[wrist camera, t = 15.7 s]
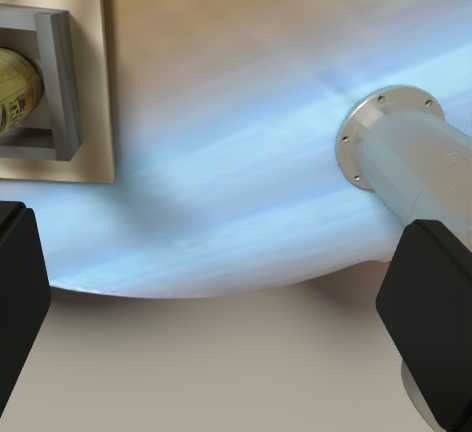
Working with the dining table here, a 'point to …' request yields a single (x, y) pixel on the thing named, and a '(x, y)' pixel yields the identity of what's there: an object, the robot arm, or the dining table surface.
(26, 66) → the sauce bottle
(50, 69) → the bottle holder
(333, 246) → the dining table surface
